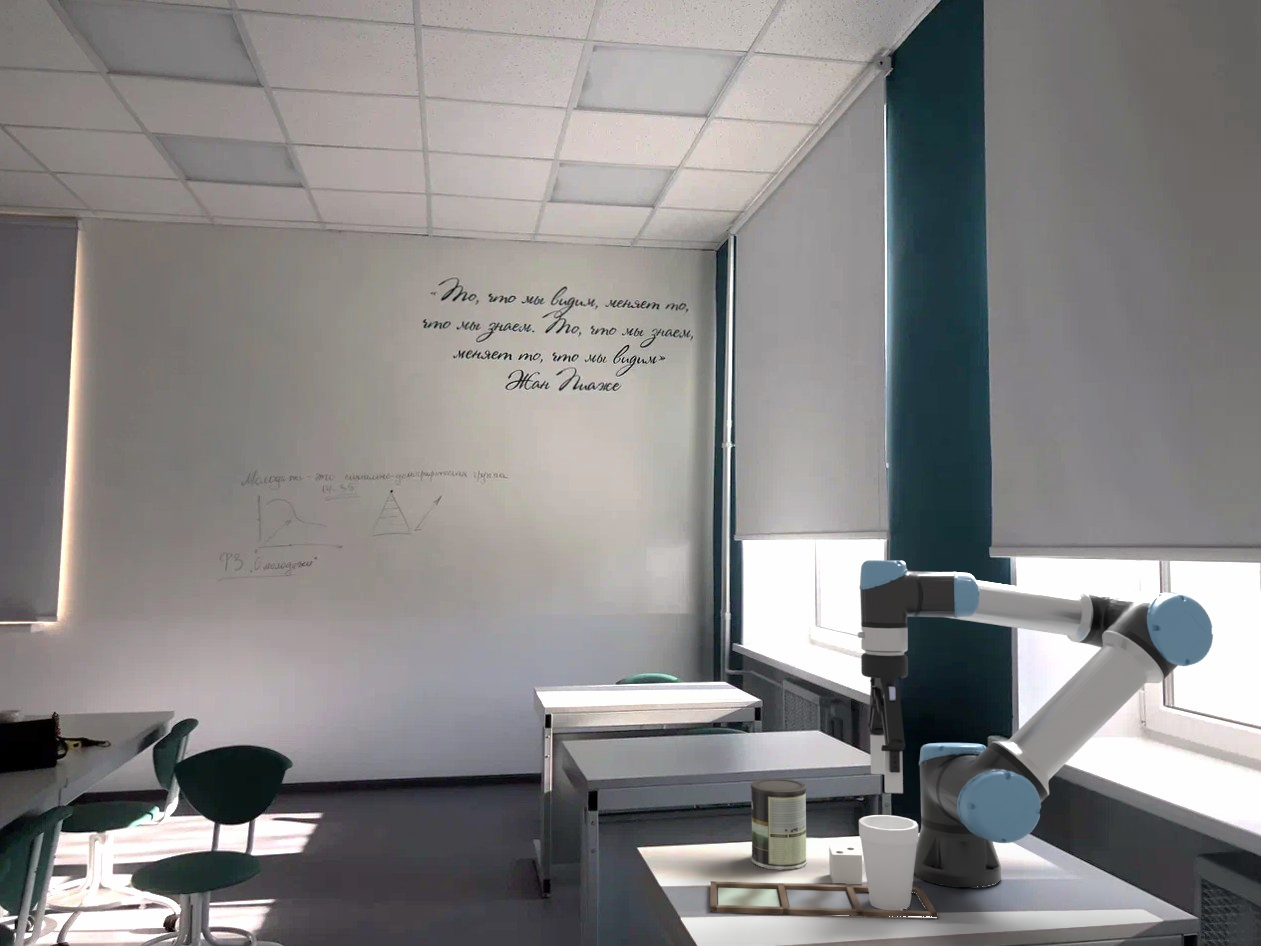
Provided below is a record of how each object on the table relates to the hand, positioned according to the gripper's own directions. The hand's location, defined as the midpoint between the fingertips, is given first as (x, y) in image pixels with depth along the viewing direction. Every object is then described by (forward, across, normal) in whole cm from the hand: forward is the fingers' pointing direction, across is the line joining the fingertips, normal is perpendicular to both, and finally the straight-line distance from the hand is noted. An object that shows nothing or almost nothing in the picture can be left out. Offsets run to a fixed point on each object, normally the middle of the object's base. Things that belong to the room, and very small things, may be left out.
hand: (886, 783), depth 163 cm
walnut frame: (+19, 0, -11) cm, 22 cm away
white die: (+20, -12, -5) cm, 24 cm away
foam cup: (+20, 0, 0) cm, 20 cm away
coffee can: (+20, -21, -16) cm, 33 cm away
